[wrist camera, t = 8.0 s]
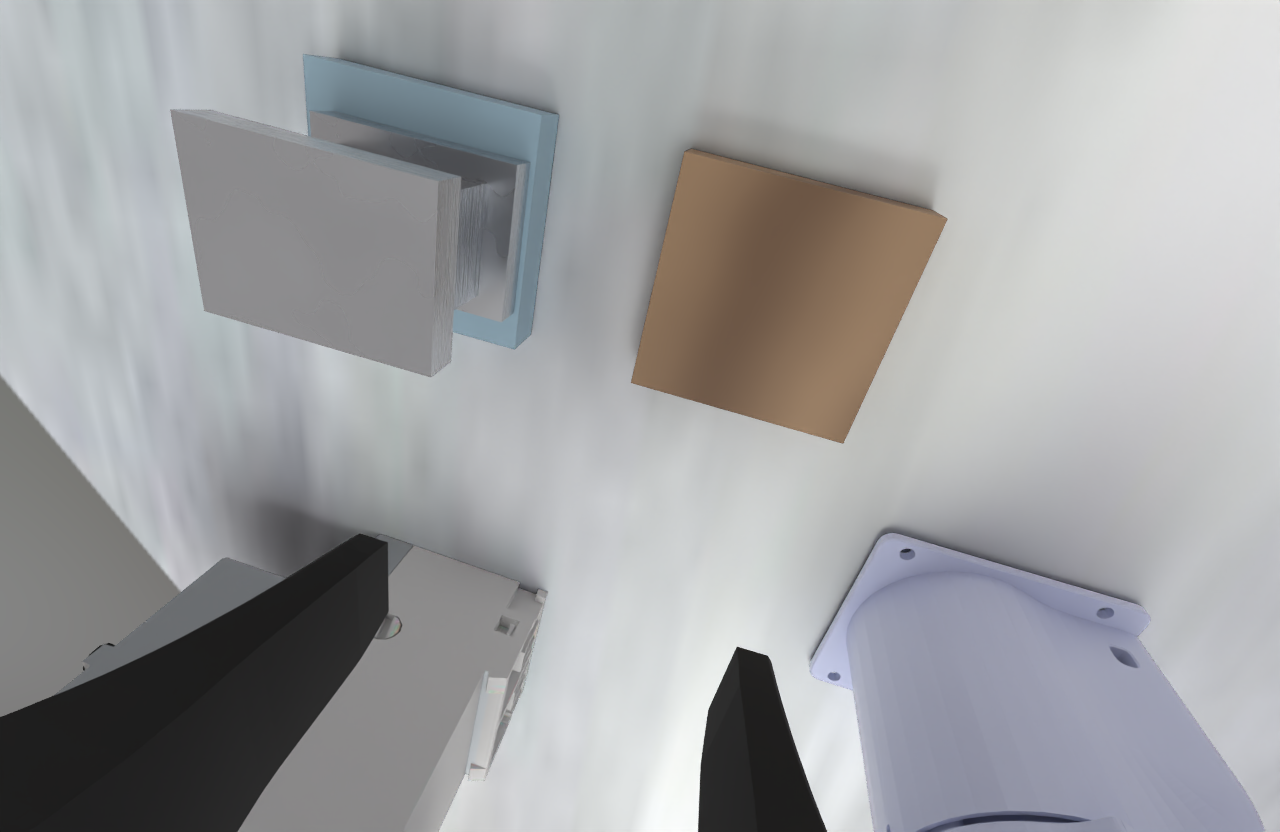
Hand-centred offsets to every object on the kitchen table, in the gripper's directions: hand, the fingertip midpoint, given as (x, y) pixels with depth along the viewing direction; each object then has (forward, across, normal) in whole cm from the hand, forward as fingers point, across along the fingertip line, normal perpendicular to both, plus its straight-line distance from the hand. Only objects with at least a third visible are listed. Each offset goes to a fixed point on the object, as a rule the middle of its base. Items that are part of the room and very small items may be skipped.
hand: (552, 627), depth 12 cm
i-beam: (+9, +8, -5) cm, 13 cm away
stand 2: (+10, -3, -5) cm, 12 cm away
